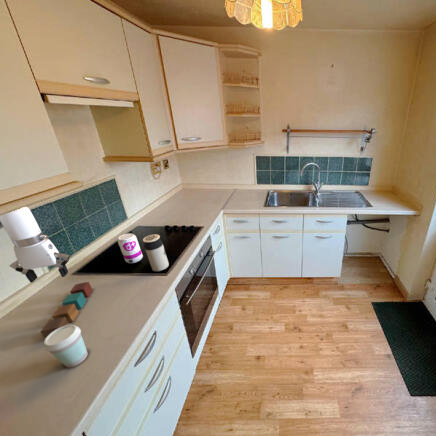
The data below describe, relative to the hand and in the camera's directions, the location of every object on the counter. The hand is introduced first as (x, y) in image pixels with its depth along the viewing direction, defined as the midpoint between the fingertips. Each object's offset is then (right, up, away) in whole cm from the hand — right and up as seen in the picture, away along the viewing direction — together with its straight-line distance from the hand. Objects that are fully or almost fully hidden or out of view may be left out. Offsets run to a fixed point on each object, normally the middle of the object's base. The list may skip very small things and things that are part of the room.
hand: (50, 277), depth 90 cm
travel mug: (+25, -3, +32) cm, 41 cm away
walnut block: (+8, -20, -4) cm, 22 cm away
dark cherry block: (+1, -12, +14) cm, 18 cm away
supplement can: (+7, 0, +38) cm, 39 cm away
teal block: (+3, -14, +8) cm, 17 cm away
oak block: (+5, -17, +2) cm, 18 cm away
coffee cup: (+23, -24, -13) cm, 36 cm away
